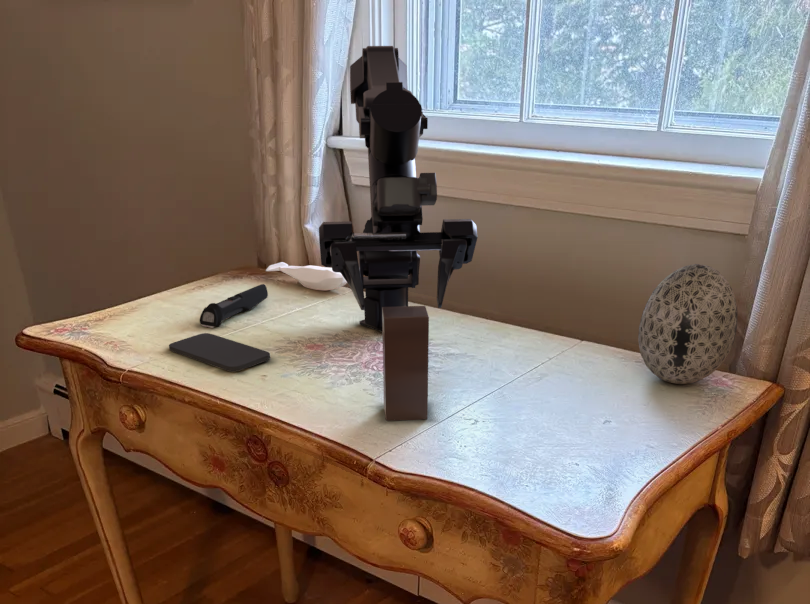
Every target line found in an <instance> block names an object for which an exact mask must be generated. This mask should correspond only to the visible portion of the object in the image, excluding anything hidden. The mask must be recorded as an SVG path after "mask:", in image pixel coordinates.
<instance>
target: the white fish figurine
mask: <svg viewBox="0 0 810 604" xmlns="http://www.w3.org/2000/svg"><path fill="white" fill-rule="evenodd" d="M265 272H281V273H284V274H286V275H288V276H289V277H290V278H292V279H294V280H296V281H297V282H299V284H300V285H301V286H303V288H306V289H307V288H308V289H310V290H316V291H332V290H336V289H339V288H342V287H344V286H346V285H347V284H348V283H347V281H346V280H345V279H344V277H343V276H342V274H341V273H339V272H333V271H332V267H325V266H320V265H311V264H308V265H304V266H303V265H301V266H300V265H289V264H288V263H286V262H284V261H280V262H277V263H274V264H273V263H272V264H270V265H268V267H267V268H266V269H265Z"/></svg>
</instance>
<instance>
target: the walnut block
mask: <svg viewBox="0 0 810 604" xmlns="http://www.w3.org/2000/svg"><path fill="white" fill-rule="evenodd" d="M429 333H430V316H429V312H428V310H427V307H426V305H408V306H400V307H382V370H383V371H382V377H383V378H382V379H383V381H382V382H383V383H382V384H383V408H384V410H383V411H384V417H385V421H386V422H391V421H393V422H394V421H395V422H396V421H419V420H420V421H421V420H428V418H429V417H428V413H429V409H428V408H429V407H428V405H429V403H428V401H429V339H430V338H429V337H430V335H429Z"/></svg>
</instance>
